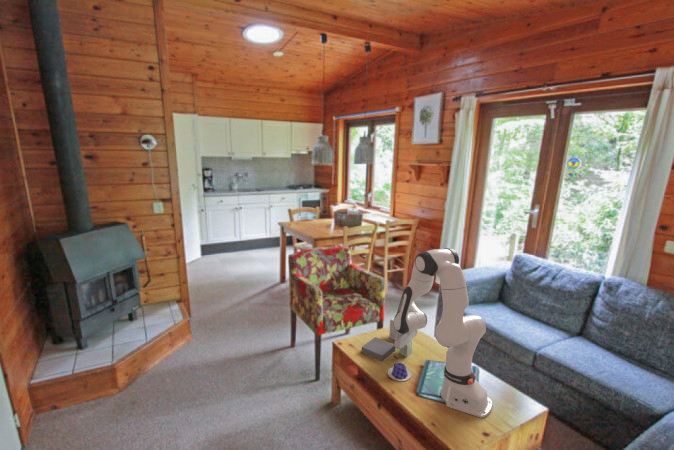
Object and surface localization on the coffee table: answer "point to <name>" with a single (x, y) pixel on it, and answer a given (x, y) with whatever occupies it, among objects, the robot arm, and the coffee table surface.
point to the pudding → (399, 372)
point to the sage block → (407, 349)
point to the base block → (378, 349)
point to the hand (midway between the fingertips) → (405, 349)
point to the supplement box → (392, 330)
